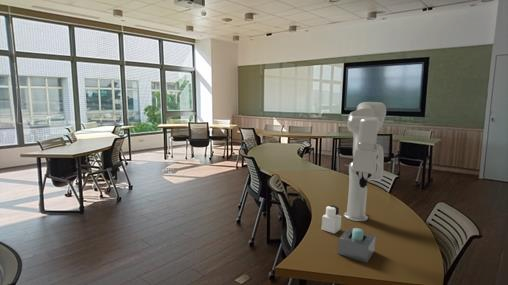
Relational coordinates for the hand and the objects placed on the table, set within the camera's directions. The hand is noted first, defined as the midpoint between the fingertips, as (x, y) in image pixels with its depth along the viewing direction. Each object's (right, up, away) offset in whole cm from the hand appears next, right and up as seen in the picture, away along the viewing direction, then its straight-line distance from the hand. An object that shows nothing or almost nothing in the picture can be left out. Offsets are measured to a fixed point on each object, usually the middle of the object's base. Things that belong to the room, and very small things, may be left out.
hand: (362, 186), depth 138 cm
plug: (-5, -27, -7) cm, 28 cm away
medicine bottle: (-11, -24, +15) cm, 30 cm away
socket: (-5, -27, -7) cm, 28 cm away
